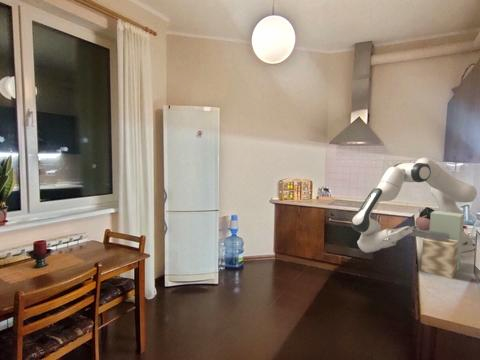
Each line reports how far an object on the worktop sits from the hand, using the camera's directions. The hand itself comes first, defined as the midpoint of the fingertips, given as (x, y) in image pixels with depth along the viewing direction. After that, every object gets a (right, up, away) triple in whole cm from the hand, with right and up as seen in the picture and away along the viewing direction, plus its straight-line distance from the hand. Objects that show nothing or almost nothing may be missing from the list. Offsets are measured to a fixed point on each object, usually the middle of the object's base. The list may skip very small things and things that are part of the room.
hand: (415, 228), depth 147 cm
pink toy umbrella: (+50, -14, +75) cm, 91 cm away
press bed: (+7, -19, -6) cm, 21 cm away
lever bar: (+3, -4, -3) cm, 6 cm away
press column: (+16, -19, +3) cm, 25 cm away
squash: (+67, -13, +96) cm, 118 cm away
